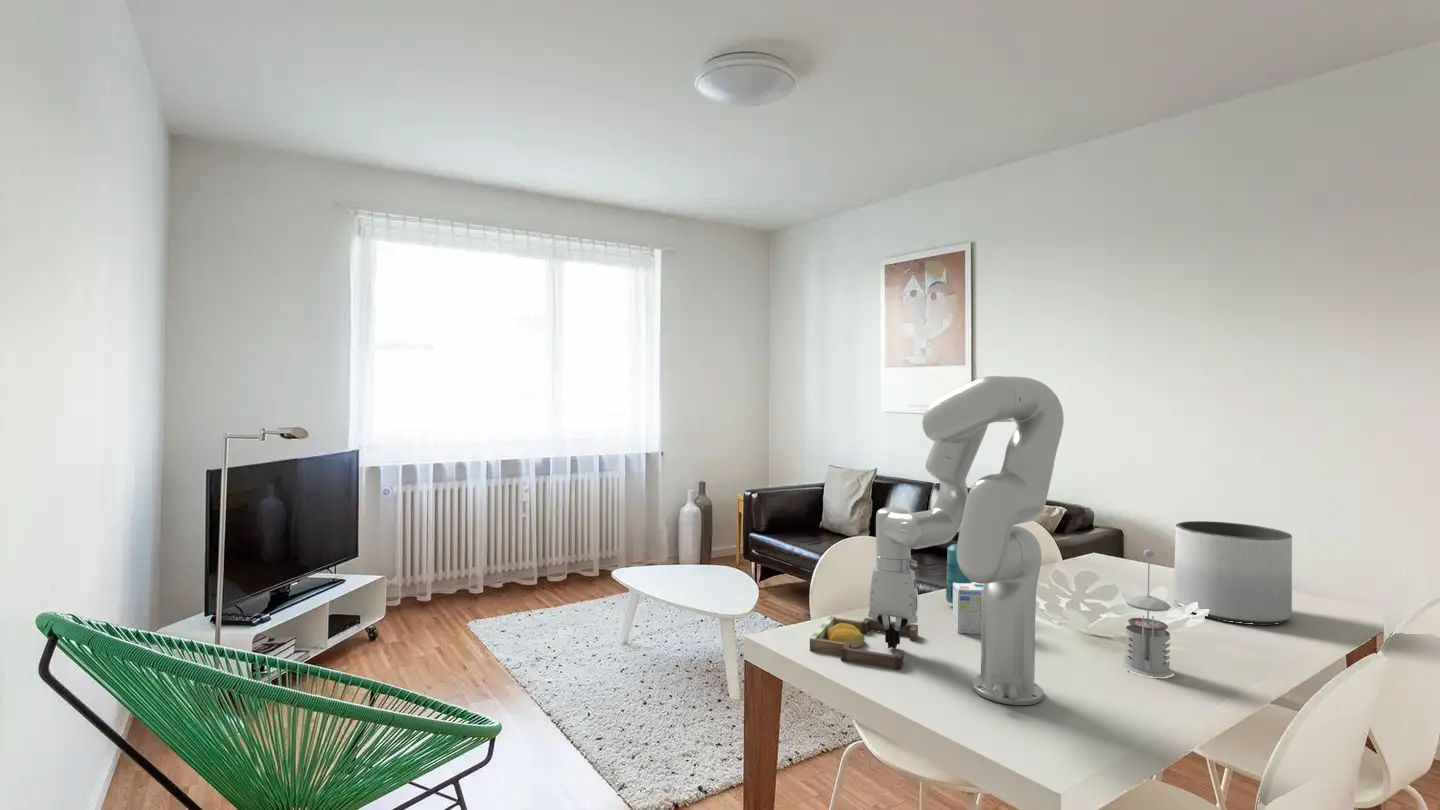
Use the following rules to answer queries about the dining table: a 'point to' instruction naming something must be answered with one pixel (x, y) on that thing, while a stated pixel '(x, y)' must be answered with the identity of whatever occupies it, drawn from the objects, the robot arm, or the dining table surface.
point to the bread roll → (846, 634)
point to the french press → (1147, 636)
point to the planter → (1234, 571)
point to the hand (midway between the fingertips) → (892, 646)
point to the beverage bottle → (953, 570)
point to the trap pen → (857, 655)
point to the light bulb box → (967, 607)
